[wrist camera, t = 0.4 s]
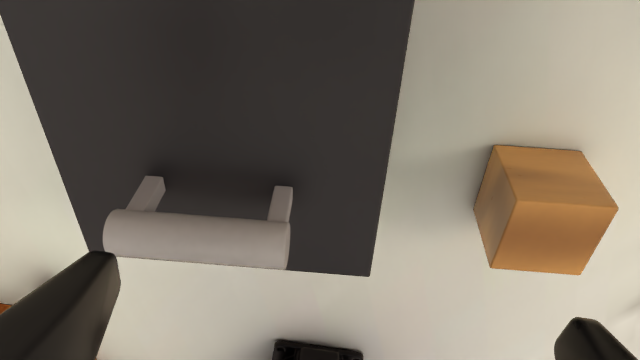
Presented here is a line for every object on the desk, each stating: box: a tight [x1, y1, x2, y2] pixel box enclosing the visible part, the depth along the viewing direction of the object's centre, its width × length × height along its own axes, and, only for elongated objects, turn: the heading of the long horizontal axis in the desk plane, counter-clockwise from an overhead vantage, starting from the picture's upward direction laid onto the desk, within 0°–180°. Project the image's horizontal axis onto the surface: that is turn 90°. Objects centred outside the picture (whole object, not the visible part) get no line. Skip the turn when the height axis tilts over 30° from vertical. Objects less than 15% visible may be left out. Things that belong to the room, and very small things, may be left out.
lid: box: [0, 0, 414, 277], centre depth 16 cm, size 13×13×4 cm
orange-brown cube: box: [473, 145, 618, 275], centre depth 22 cm, size 4×4×4 cm
